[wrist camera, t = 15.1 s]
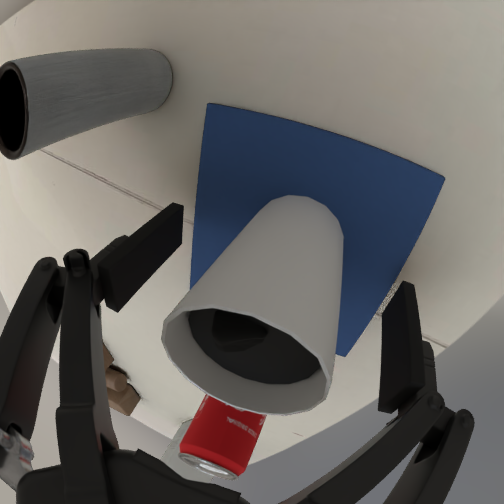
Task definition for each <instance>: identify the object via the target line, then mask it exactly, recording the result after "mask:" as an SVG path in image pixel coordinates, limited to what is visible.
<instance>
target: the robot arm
mask: <svg viewBox="0 0 504 504" xmlns="http://www.w3.org/2000/svg"><path fill="white" fill-rule="evenodd" d="M183 211H184V206H183V205H180V204H177V203H171V204H170V205H169V206H167V207H166V208H165V209H163V210H162V211H161V212H160V213H158V214H157V215H156V216H154V217H153V218H152V219H151V220H149V221H148V222H147V223H146V224H144V225H143V226H142V227H141V228H139V229H138V230H137V231H136V232H134V233H133V234H132V235H131V236H129V237H128V236H126V235H123V236H121V237H118V238H116V239H115V240H113V241H112V242H111V243H110V244H109V245H107V246H106V247H105V248H104V249H102V250H101V251H100V252H99V253H98V254H96V255H95V256H94V257H93V258H92V259H91V260H89V255H88V252H87V251H86V250H83V249H74V250H71V251H69V252H67V253H66V254H65V255H64V258H63V261H64V265H65V267H60V266H58V264H57V261H56V259H55V258H53V257H45V258H42V259H41V260H39V261H38V262H37V263H36V264H35V266H34V268H33V270H32V272H31V273H30V275H29V277H28V279H27V281H26V283H25V285H24V287H23V289H22V290H21V292H20V294H19V297H18V299H17V301H16V303H15V305H14V307H13V309H12V311H11V313H10V316H9V318H8V320H7V323H6V325H5V327H4V330H3V332H2V334H1V337H0V478H1V479H2V480H3V481H4V482H5V483H6V484H8V485H9V486H10V487H11V488H12V489H13V490H15V491H16V501H17V502H16V504H250V503H249V502H248V501H246V500H245V499H244V498H242V497H240V495H241V493H239V492H236V491H233V490H230V489H227V488H224V487H221V486H219V485H216V484H211V483H205V482H199V481H193V480H188V479H185V478H183V477H182V476H180V475H179V474H178V473H176V472H175V471H174V470H173V469H171V468H170V467H169V466H168V465H166V464H165V463H164V462H163V461H161V460H159V459H157V458H155V457H153V456H151V455H149V454H147V453H145V452H144V451H142V450H140V449H138V450H137V451H131V450H121V449H119V445H118V441H117V438H116V435H115V433H114V430H113V426H112V421H111V415H110V408H109V402H108V394H107V387H106V378H105V369H104V357H103V344H102V325H101V306H100V303H101V301H102V300H103V299H105V303H106V307H108V308H110V309H112V310H114V311H116V312H117V313H118V312H119V311H120V310H121V309H122V308H123V306H124V305H125V304H126V303H127V302H128V301H129V300H130V299H131V298H132V296H133V295H134V294H135V293H136V292H137V291H138V290H139V289H140V288H141V287H142V285H143V284H144V283H145V282H146V281H147V280H148V279H149V278H150V277H151V276H152V275H153V274H154V273H155V272H156V270H157V269H158V268H159V267H160V266H161V265H162V264H163V263H164V262H165V261H166V260H167V259H168V258H169V257H170V256H171V255H172V254H173V253H174V252H175V251H176V249H177V248H178V247H179V246H180V245H181V244H182V230H183ZM60 325H61V331H60V356H59V381H60V382H59V383H60V407H58V408H57V410H56V429H57V439H58V446H59V455H60V462H61V464H60V465H56V466H51V467H47V468H42V469H37V470H33V469H32V466H31V460H33V458H34V452H33V450H32V446H31V444H30V439H31V436H32V433H33V430H34V426H35V421H36V417H37V411H38V406H39V401H40V397H41V392H42V388H43V383H44V380H45V376H46V372H47V368H48V364H49V360H50V357H51V353H52V350H53V347H54V343H55V340H56V337H57V334H58V331H59V328H60ZM397 409H398V416H397V417H396V418H394V419H393V420H391V421H390V422H389V423H387V424H386V425H387V426H385V427H384V428H383V429H382V430H381V431H380V432H379V433H378V434H377V435H376V436H374V437H373V438H372V439H371V440H370V441H368V442H367V443H366V444H365V445H364V446H363V447H362V448H360V449H359V450H358V451H356V452H355V453H354V454H353V455H351V456H350V457H349V458H347V459H346V460H345V461H344V462H342V463H341V464H339V465H338V466H337V467H336V468H334V469H333V470H331V471H330V472H328V473H327V474H326V475H324V476H323V477H321V478H320V479H318V480H317V481H315V482H314V483H313V484H311V485H309V486H308V487H306V488H305V489H303V490H302V491H300V492H298V493H297V494H295V495H293V496H292V497H290V498H288V499H287V500H285V501H283V502H281V503H278V504H355V503H356V502H357V501H359V500H360V499H361V498H362V497H364V496H365V495H366V494H367V493H368V492H369V491H371V490H372V489H373V488H374V487H375V486H376V485H377V484H378V483H379V482H381V481H382V480H383V479H384V478H385V477H386V476H387V475H388V474H389V473H390V472H391V471H392V470H393V469H394V468H395V467H396V466H397V465H398V464H399V463H400V462H401V461H402V460H403V459H404V458H405V457H406V456H407V455H408V453H409V452H410V451H411V450H412V449H413V448H414V447H415V446H416V445H417V444H418V443H419V441H420V444H419V445H418V447H417V449H416V451H415V453H414V455H413V457H412V458H411V460H410V462H409V464H408V466H407V467H406V469H405V471H404V472H403V474H402V476H401V477H400V479H399V480H398V482H397V484H396V485H395V487H394V488H393V490H392V491H391V493H390V494H389V496H388V497H387V499H386V500H385V502H384V503H383V504H443V502H444V500H445V498H446V496H447V494H448V492H449V490H450V488H451V486H452V484H453V481H454V479H455V477H456V474H457V472H458V470H459V467H460V465H461V463H462V460H463V457H464V454H465V452H466V449H467V446H468V444H469V441H470V438H471V435H472V432H473V428H474V418H473V416H472V414H471V413H470V412H469V411H468V410H466V409H461V410H459V411H458V412H457V413H455V412H454V411H452V410H450V409H448V408H447V407H445V402H444V399H443V397H442V396H441V395H440V394H439V393H438V392H437V384H436V372H435V362H434V352H433V349H432V347H431V345H430V343H429V342H427V341H423V340H422V334H421V326H420V319H419V312H418V305H417V299H416V293H415V287H414V284H411V283H408V282H406V281H402V283H401V284H400V286H399V288H398V289H397V291H396V293H395V294H394V296H393V297H392V299H391V301H390V302H389V304H388V305H387V307H386V308H385V310H384V311H383V313H382V350H381V375H380V390H379V403H378V411H381V412H386V413H390V414H392V413H393V412H394V411H395V410H397Z"/></svg>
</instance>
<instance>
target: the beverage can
mask: <svg viewBox="0 0 504 504" xmlns="http://www.w3.org/2000/svg"><path fill="white" fill-rule="evenodd" d="M266 416H267V414H258V413H254V412H250V411H246V410H243V409H239V408H235V407H232V406H230V405H228V404H226V403H224V402H222V401H220V400H217V399H215V398H213V397H211V396H209V395H207V394H206V395H205V397H204V399H203V401H202V403H201V405H200V407H199V409H198V411H197V413H196V414H195V416H194V418H193V420H192V422H191V424H190V426H189V428H188V430H187V431H186V433H185V435H184V437H183V439H182V441H181V443H180V445H179V447H180V453H179V454H178V457H179V458H180V459H181V460H182V461H184V462H185V463H187V464H189V465H190V466H192V467H194V468H196V469H198V470H200V471H203V472H205V473H207V474H210V475H213V476H216V477H219V478H223V479H227V480H237V479H238V476H239V475H240V474H242V473H243V472H244V471H245V469H246V467H247V465H248V462H249V460H250V457H251V455H252V452H253V450H254V447H255V445H256V442H257V439H258V437H259V434H260V432H261V429H262V426H263V424H264V421H265V418H266Z"/></svg>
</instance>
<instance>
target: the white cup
mask: <svg viewBox="0 0 504 504" xmlns="http://www.w3.org/2000/svg"><path fill="white" fill-rule="evenodd" d="M343 238H344V236H343V233H342V230H341V227H340V224H339V221H338V219H337V218H336V217H335V216H334V215H333V214H332V212H331V211H330V210H329V209H328V208H327V207H326V206H325V205H323V204H321V203H319V202H317V201H315V200H313V199H311V198H309V197H305V196H294V195H287V196H284V197H280V198H277V199H274V200H271V201H270V202H269V203H268V204H267V205H265V206H264V207H263V208H262V209H261V210H260V211H259V212H258V213H257V214H256V215H255V216H254V218H253V219H252V220H251V221H250V222H249V223H248V224H247V225H246V227H245V228H244V229H243V230H242V231H241V232H240V233H239V234H238V236H237V237H236V238H235V239H234V240H233V241H232V242H231V244H230V245H229V246H228V247H227V248H226V249H225V250H224V252H223V253H222V254H221V255H220V256H219V257H218V258H217V260H216V261H215V262H214V263H213V264H212V265H211V266H210V268H209V269H208V270H207V271H206V272H205V273H204V275H203V276H202V277H201V278H200V279H199V280H198V282H197V283H196V284H195V285H194V286H193V287H192V288H191V290H190V291H189V292H188V293H187V294H186V295H185V297H184V298H183V299H182V300H181V301H180V303H179V304H178V305H177V306H176V307H175V308H174V310H173V311H172V312H171V313H170V314H169V315H168V317H167V318H166V319H165V320H164V323H163V330H162V336H161V340H162V343H163V345H164V348H165V350H166V353H167V355H168V358H169V360H170V361H171V362H172V363H173V364H174V366H175V367H176V368H177V369H178V370H179V371H180V373H181V374H182V375H183V376H184V377H185V378H186V379H187V380H188V381H190V382H191V383H192V384H194V385H195V386H196V387H198V388H199V389H200V390H202V391H203V392H205V393H206V394H207V395H209V396H211V397H213V398H215V399H217V400H220V401H222V402H224V403H226V404H228V405H230V406H232V407H235V408H239V409H243V410H246V411H250V412H254V413H258V414H267V415H285V416H287V415H292V414H297V413H301V412H306V411H310V410H311V409H313V408H314V407H316V406H317V405H318V404H320V403H321V402H323V401H324V400H325V399H326V398H327V395H328V392H329V388H330V385H331V382H332V375H333V368H334V360H335V352H336V343H337V333H338V323H339V311H340V299H341V284H342V265H343Z"/></svg>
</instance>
